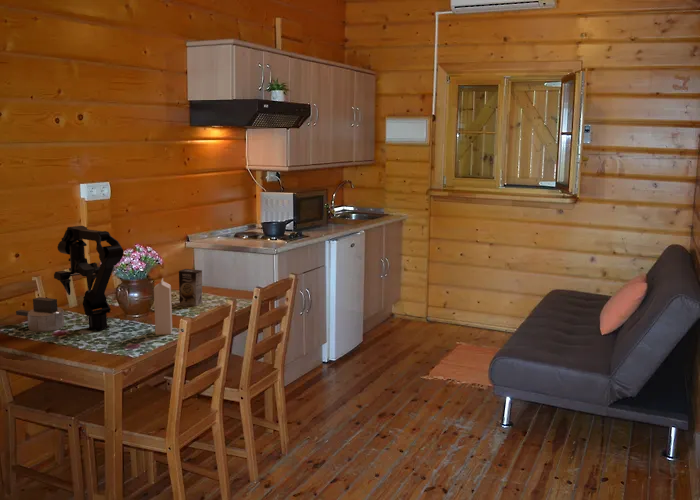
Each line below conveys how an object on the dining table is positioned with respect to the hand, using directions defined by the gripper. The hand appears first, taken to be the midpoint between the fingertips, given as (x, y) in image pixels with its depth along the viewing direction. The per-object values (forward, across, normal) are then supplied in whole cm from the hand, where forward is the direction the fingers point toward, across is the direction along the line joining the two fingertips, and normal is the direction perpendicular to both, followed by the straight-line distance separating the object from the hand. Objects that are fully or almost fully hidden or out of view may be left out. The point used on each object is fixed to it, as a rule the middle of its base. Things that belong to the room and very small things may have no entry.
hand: (79, 292), depth 282 cm
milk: (+13, +14, -38) cm, 42 cm away
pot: (+13, -14, +9) cm, 21 cm away
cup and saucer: (+8, -12, +5) cm, 16 cm away
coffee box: (+13, +51, -10) cm, 53 cm away
